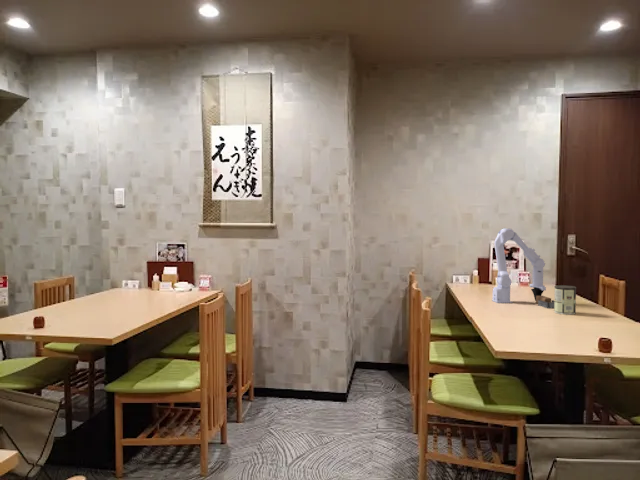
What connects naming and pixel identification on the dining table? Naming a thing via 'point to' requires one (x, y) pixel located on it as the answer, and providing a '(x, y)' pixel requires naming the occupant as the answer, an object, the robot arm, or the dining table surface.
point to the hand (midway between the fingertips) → (537, 300)
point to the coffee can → (565, 299)
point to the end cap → (546, 304)
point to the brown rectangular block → (543, 299)
